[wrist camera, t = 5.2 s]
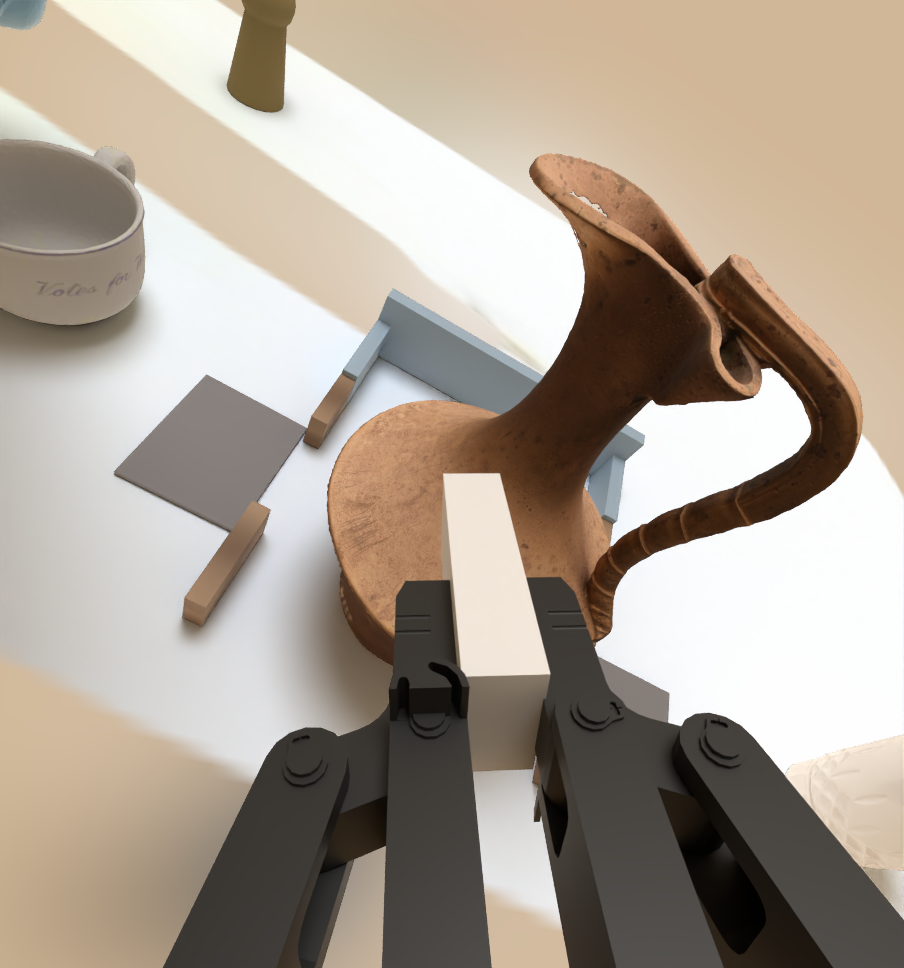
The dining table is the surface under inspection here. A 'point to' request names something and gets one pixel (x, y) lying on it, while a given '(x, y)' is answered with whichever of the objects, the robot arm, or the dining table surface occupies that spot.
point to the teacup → (68, 232)
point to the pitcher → (591, 416)
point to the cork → (261, 54)
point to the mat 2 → (636, 692)
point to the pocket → (475, 379)
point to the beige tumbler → (859, 799)
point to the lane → (255, 519)
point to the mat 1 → (213, 453)
